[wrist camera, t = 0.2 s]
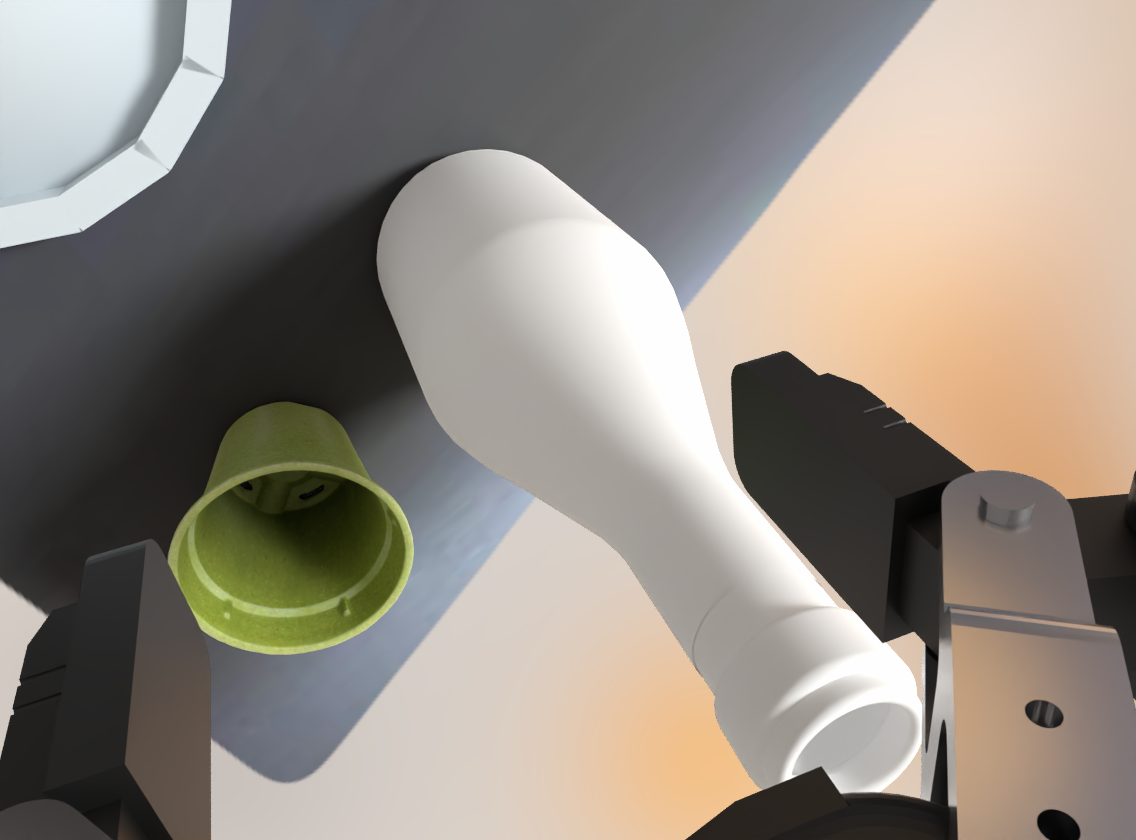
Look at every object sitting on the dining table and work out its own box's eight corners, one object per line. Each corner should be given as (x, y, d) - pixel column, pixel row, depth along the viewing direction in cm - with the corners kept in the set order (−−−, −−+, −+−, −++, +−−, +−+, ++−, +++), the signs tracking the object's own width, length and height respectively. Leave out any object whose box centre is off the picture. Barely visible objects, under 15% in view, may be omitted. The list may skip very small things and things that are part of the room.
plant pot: (253, 568, 46) (258, 691, 38) (134, 432, 40) (113, 544, 33) (416, 478, 46) (451, 582, 39) (320, 332, 41) (339, 421, 34)
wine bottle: (614, 223, 43) (1147, 653, 18) (495, 377, 45) (829, 958, 20) (457, 97, 38) (894, 451, 13) (330, 277, 40) (501, 884, 15)
